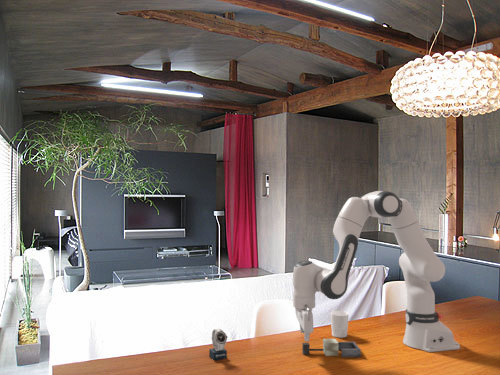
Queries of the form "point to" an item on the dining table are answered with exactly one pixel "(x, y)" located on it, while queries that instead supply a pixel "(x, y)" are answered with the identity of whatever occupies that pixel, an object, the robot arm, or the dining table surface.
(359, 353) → the dark grey tray
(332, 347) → the hammer
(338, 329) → the white cup
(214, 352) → the watch
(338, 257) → the robot arm
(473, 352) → the dining table surface
